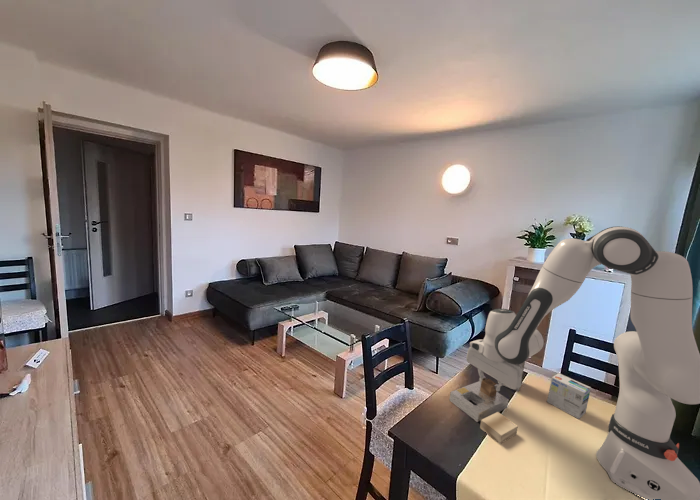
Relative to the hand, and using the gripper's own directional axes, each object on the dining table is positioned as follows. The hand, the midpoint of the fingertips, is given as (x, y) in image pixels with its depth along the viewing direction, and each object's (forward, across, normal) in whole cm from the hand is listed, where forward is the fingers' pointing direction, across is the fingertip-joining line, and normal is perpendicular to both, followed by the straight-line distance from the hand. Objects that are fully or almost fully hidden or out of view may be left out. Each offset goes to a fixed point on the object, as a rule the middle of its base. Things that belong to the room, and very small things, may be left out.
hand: (489, 385), depth 108 cm
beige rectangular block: (+6, -11, +10) cm, 17 cm away
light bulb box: (+7, -15, -26) cm, 31 cm away
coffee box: (+6, +3, -20) cm, 22 cm away
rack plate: (+6, 0, +5) cm, 8 cm away
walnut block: (+3, 0, 0) cm, 3 cm away
